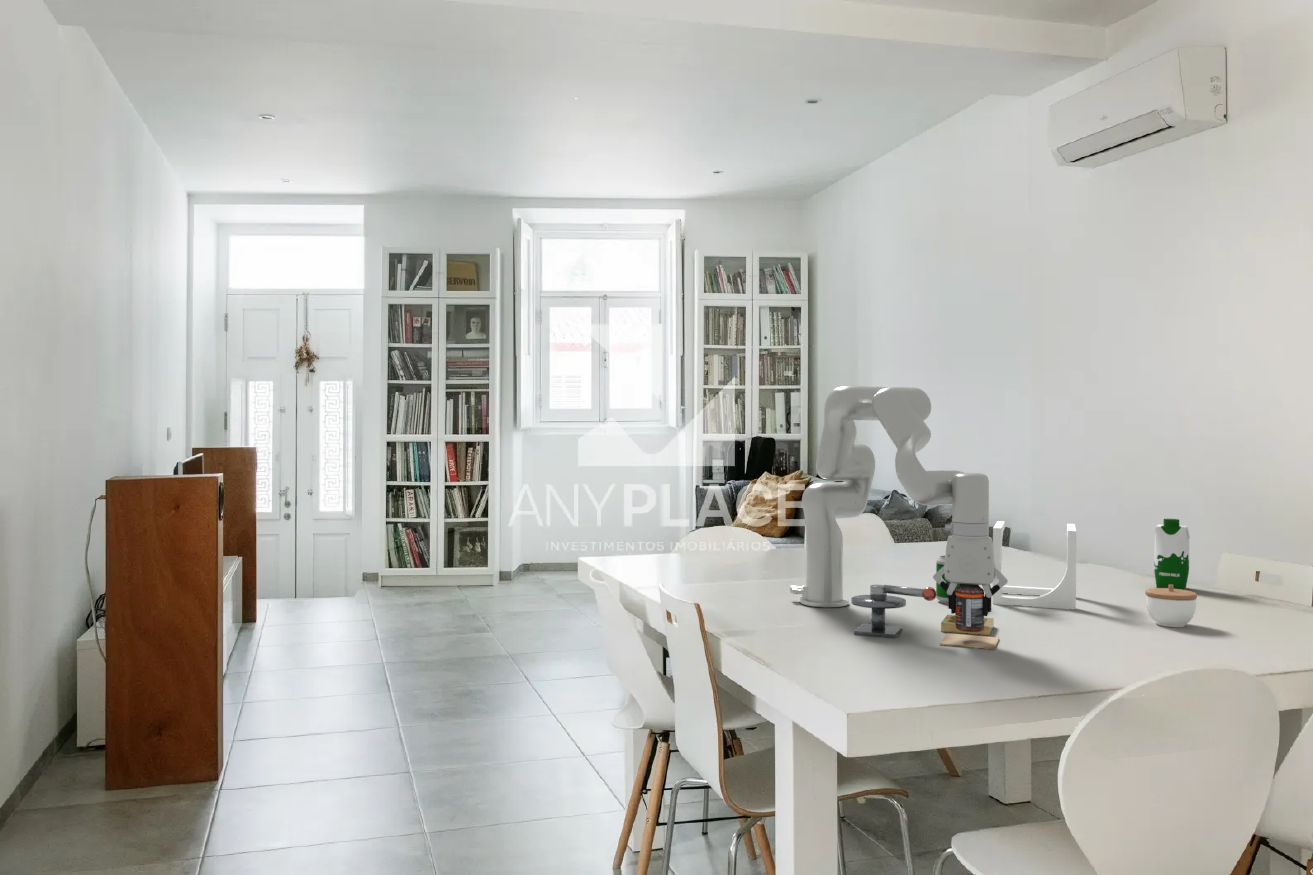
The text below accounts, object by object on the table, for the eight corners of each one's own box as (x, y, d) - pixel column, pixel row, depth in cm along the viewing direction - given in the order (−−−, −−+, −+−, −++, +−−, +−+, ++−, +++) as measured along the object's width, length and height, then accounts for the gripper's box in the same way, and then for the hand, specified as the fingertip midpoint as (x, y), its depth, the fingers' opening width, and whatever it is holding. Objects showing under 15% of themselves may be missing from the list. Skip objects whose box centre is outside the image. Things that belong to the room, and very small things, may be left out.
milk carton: (1152, 589, 281) (1153, 519, 281) (1156, 584, 289) (1156, 516, 288) (1187, 591, 276) (1188, 520, 276) (1190, 587, 284) (1190, 518, 284)
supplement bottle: (950, 627, 215) (951, 575, 215) (977, 626, 215) (977, 575, 215) (961, 633, 209) (961, 579, 209) (988, 632, 209) (989, 579, 209)
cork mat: (939, 645, 209) (939, 643, 209) (946, 635, 219) (946, 633, 219) (994, 649, 205) (994, 648, 205) (998, 639, 215) (998, 637, 215)
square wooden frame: (941, 631, 223) (941, 622, 223) (947, 623, 232) (947, 614, 232) (989, 635, 219) (989, 626, 219) (993, 626, 228) (993, 618, 228)
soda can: (967, 605, 255) (967, 559, 255) (937, 604, 257) (937, 558, 257) (964, 600, 263) (964, 555, 263) (935, 599, 264) (935, 554, 264)
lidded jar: (1192, 621, 234) (1192, 582, 234) (1200, 630, 224) (1201, 589, 224) (1142, 618, 238) (1142, 580, 238) (1148, 627, 228) (1149, 587, 228)
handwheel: (841, 604, 221) (841, 582, 221) (866, 597, 230) (866, 575, 230) (924, 614, 209) (924, 591, 209) (946, 606, 218) (946, 584, 218)
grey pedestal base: (854, 634, 220) (854, 607, 219) (862, 626, 228) (862, 601, 228) (894, 638, 216) (895, 610, 216) (902, 630, 224) (902, 604, 224)
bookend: (992, 604, 257) (993, 528, 257) (996, 592, 276) (997, 521, 276) (1075, 609, 250) (1076, 531, 250) (1074, 597, 268) (1074, 523, 268)
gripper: (926, 530, 212) (926, 613, 212) (1011, 534, 205) (1010, 620, 205) (931, 527, 219) (931, 607, 219) (1014, 530, 212) (1013, 614, 212)
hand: (969, 613), depth 212 cm, fingers closed on supplement bottle, 6 cm apart
